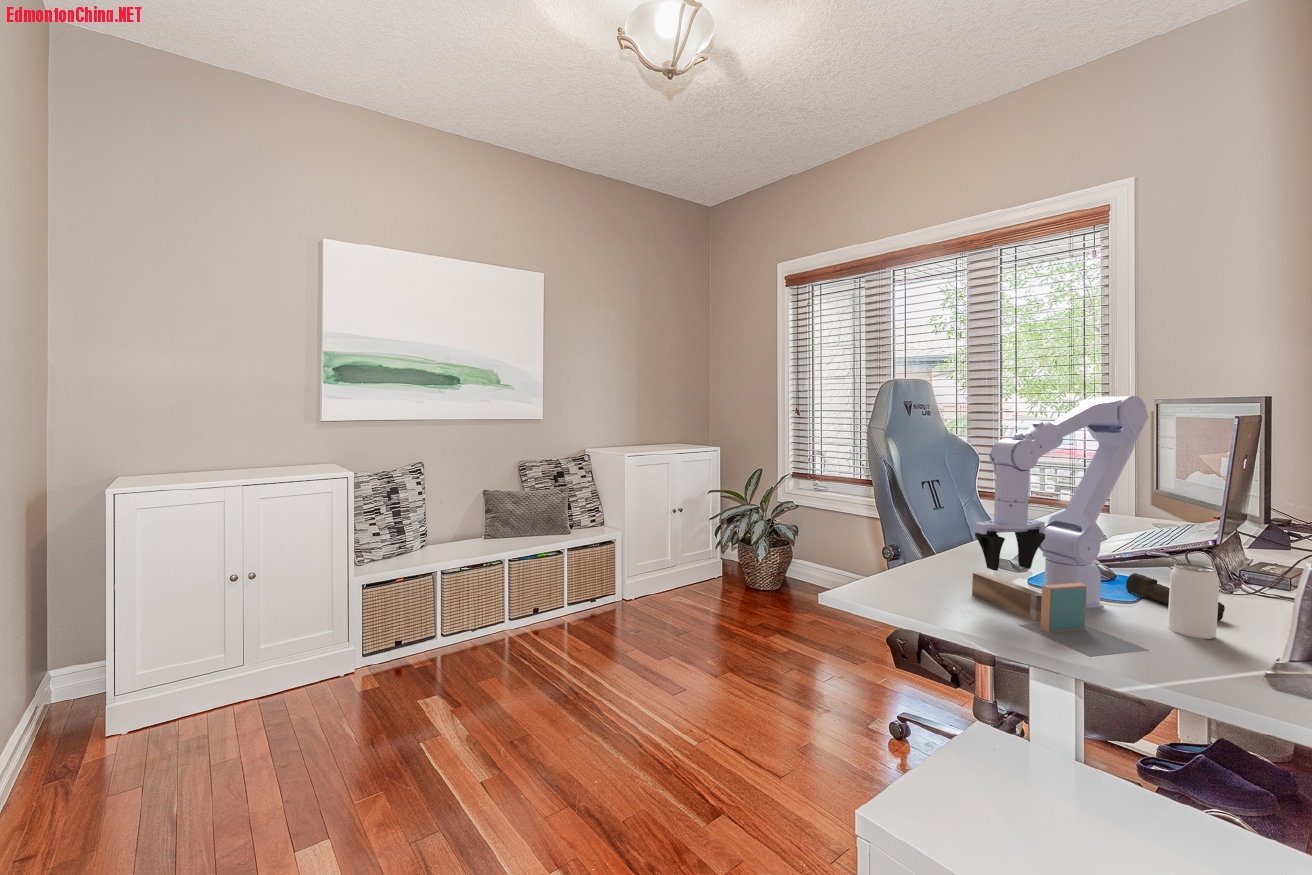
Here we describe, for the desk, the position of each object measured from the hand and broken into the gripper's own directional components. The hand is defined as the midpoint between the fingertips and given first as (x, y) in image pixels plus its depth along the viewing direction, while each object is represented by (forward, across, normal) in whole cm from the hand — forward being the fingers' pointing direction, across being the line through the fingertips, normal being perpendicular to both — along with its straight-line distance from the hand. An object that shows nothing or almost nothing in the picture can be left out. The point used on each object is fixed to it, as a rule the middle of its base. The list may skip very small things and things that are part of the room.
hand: (1008, 568), depth 119 cm
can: (+8, -22, +18) cm, 30 cm away
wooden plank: (+8, 0, 0) cm, 8 cm away
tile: (+8, 0, +12) cm, 15 cm away
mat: (+8, 0, +16) cm, 18 cm away
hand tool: (+8, -34, +5) cm, 35 cm away
